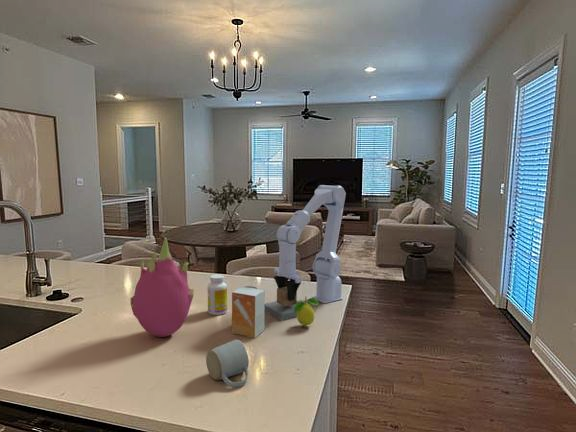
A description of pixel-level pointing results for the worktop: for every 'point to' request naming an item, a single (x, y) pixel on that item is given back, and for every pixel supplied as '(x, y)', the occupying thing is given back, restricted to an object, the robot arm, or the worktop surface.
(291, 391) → the worktop surface
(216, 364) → the ceramic mug
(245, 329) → the small box
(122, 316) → the worktop surface
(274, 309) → the slate tile
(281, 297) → the walnut block
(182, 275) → the pink dragon fruit
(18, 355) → the worktop surface
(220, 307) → the supplement bottle
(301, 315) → the lemon
